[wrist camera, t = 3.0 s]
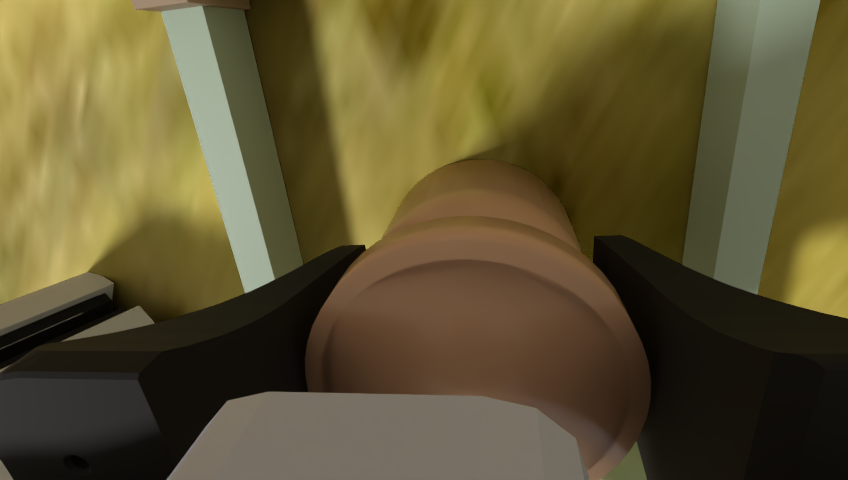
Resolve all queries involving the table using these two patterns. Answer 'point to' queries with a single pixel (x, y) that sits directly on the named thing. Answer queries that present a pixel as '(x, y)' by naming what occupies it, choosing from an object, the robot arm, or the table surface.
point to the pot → (487, 312)
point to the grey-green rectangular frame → (714, 170)
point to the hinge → (61, 319)
